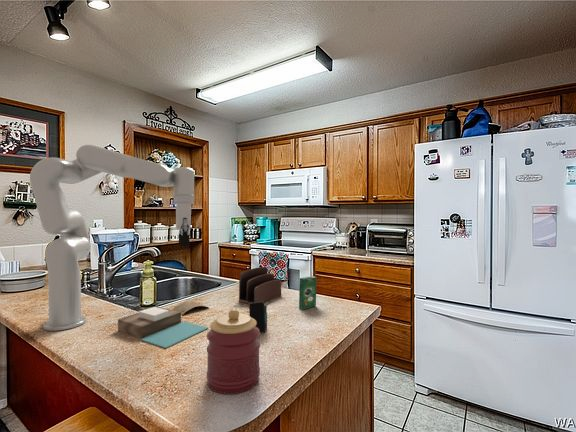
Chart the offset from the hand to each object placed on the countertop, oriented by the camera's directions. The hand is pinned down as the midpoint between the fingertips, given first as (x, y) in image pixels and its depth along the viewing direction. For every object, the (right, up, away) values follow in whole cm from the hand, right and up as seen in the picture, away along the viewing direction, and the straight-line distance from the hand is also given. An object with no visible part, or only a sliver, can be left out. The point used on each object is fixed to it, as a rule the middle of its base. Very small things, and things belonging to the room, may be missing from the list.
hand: (183, 244), depth 118 cm
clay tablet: (-1, -29, +11) cm, 31 cm away
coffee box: (+49, -29, +14) cm, 58 cm away
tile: (-7, -25, -9) cm, 27 cm away
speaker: (+29, -29, -10) cm, 43 cm away
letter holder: (+27, -29, +27) cm, 48 cm away
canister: (+27, -30, -42) cm, 58 cm away
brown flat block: (-9, -29, -8) cm, 31 cm away
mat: (+2, -29, -15) cm, 33 cm away
